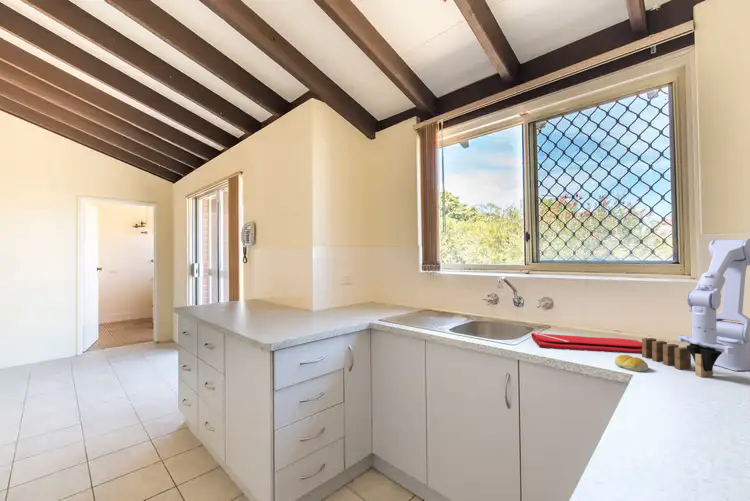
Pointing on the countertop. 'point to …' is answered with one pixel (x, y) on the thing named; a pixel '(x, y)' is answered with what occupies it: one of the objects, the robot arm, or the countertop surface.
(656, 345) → the domino
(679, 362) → the domino
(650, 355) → the domino
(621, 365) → the bread roll
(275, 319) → the countertop surface
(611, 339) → the dish drying mat
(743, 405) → the countertop surface
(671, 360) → the domino
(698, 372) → the domino
